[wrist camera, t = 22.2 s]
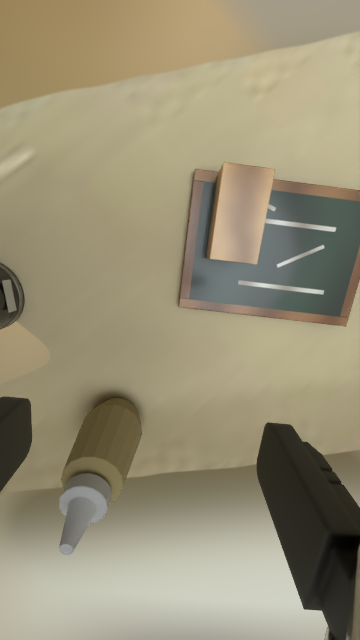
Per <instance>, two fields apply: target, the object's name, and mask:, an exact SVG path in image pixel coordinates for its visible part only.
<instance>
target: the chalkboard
mask: <svg viewBox="0 0 360 640" xmlns="http://www.w3.org/2000/svg"><path fill="white" fill-rule="evenodd" d="M218 173H219V172H215V171H207V170H200V169H195V172H194V181H193V189H192V198H191V206H190V215H189V223H188V231H187V240H186V248H185V257H184V265H183V274H182V282H181V291H180V299H179V307H183V308H192V309H201V310H209V311H218V312H227V313H235V314H244V315H252V316H261V317H270V318H278V319H287V320H296V321H304V322H313V323H322V324H330V325H339V326H346V324H347V321H348V317H349V314H350V310H351V307H352V304H353V300H354V297H355V293H356V290H357V286H358V283H359V280H360V190H353V189H345V188H337V187H330V186H322V185H314V184H307V183H299V182H291V181H284V180H276V179H273V183H272V188H271V194H270V199H269V204H268V210H267V215H266V220H265V225H264V231H263V236H262V241H261V246H260V252H259V257H258V262H257V265H254V264H246V263H238V262H230V261H221V260H213V259H207V258H205V256H206V249H207V241H208V234H209V227H210V220H211V212H212V205H213V198H214V191H215V184H216V177H217V175H218Z"/></svg>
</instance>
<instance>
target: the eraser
mask: <svg viewBox="0 0 360 640" xmlns="http://www.w3.org/2000/svg"><path fill="white" fill-rule="evenodd" d="M274 173H275V169H271V168H264V167H256V166H249V165H241V164H233V163H226V162H224V163H223V165H222V167H221V169H220V171H219V173H218V175H217V177H216V184H215V191H214V198H213V205H212V212H211V220H210V227H209V234H208V241H207V249H206V256H205V258H207V259H213V260H221V261H230V262H238V263H246V264H254V265H257V262H258V257H259V252H260V246H261V241H262V236H263V231H264V225H265V220H266V215H267V210H268V204H269V199H270V194H271V188H272V183H273V178H274Z"/></svg>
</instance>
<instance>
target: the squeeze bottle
mask: <svg viewBox="0 0 360 640" xmlns="http://www.w3.org/2000/svg"><path fill="white" fill-rule="evenodd" d="M141 435H142V430H141V423H140V420H139V416H138V412H137V410H136V408H135V407H134V405H133V404H132V403H130V402H129V401H128V400H125V399H122V398H111V399H109V400H107V401H105V402H103V403H102V404H100V405H99V406H97V407H96V408H94V409H93V410H91V412H90V413H89V414H88V415H87V416H86V417H85V419H84V421H83V424H82V426H81V429H80V431H79V433H78V436H77V438H76V441H75V443H74V446H73V448H72V450H71V453H70V455H69V458H68V460H67V463H66V465H65V468H64V470H63V474H62V478H61V481H62V485H63V489H64V490H63V492H62V494H61V497H60V500H59V506H60V510H61V512H62V513H63V515H64V516H65V517H66V519H65V524H64V528H63V533H62V537H61V542H60V546H59V550H60V552H61V553H62V554H66V555H69V554H71V553H72V552H73V551H74V549H75V548H76V546H77V544H78V542H79V541H80V539H81V537H82V535H83V533H84V532H85V530H86V528H87V527H88V525H89V524H92V523H95V522H97V521H100V520H101V519H102V517H104V516H105V515H106V511H107V509H108V505H109V503H111V502H113V501H114V500H115V499H116V498H117V497H118V496H119V495H120V493H121V491H122V488H123V485H124V482H125V480H126V477H127V474H128V471H129V469H130V466H131V463H132V461H133V458H134V455H135V452H136V450H137V447H138V444H139V441H140V438H141Z"/></svg>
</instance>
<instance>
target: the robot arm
mask: <svg viewBox="0 0 360 640" xmlns="http://www.w3.org/2000/svg"><path fill="white" fill-rule="evenodd" d="M23 303H24V298H23V292H22V288H21V286H20V283H19V281H18V280H17V278H16V277H15V275H14V274H13V273H12V272H11V271H10V270H9V269H8V268H7V267H5V266H4V265H2V264H1V263H0V329H2V328H5V327H7V326H9V325H11V324H12V323H14V322H15V321H16V320H17V318H18V317H19V316H20V314H21V312H22V308H23ZM31 442H32V424H31V403H30V401H29V399H25V398H15V397H1V398H0V492H1V490H2V489H3V488H4V486H5V485H6V484H7V482H8V481H9V480H10V478H11V477H12V476H13V474H14V473H15V472H16V470H17V469H18V468H19V466H20V465H21V464H22V462H23V461H24V459H25V458H26V456H27V454H28V452H29V450H30V447H31ZM257 475H258V480H259V483H260V486H261V488H262V491H263V494H264V497H265V500H266V502H267V505H268V508H269V511H270V514H271V517H272V520H273V522H274V525H275V528H276V531H277V534H278V537H279V539H280V542H281V545H282V548H283V551H284V554H285V557H286V560H287V562H288V565H289V568H290V571H291V574H292V577H293V579H294V582H295V585H296V588H297V590H298V594H299V596H300V599H301V602H302V605H303V608H304V609H308V610H322V612H323V614H324V617H325V619H326V622H327V624H328V627H327V630H326V634H325V640H360V508H359V506H358V505H357V503H356V502H355V500H354V499H353V498H352V496H351V495H350V493H349V492H348V491H347V489H346V488H345V486H344V485H342V484H341V481H340V479H339V478H338V477H337V475H336V474H335V473H334V472H333V471H332V468H331V467H330V465H329V464H328V462H327V461H326V460H325V458H324V457H323V455H322V454H321V453H319V452H318V451H317V450H316V449H315V448H314V447H312V446H311V445H310V444H309V443H308V442H302V440H301V439H300V437H299V436H298V434H297V433H296V431H295V430H294V428H293V427H292V426H291V425H289V424H278V423H267V424H266V425H265V427H264V432H263V436H262V440H261V445H260V449H259V454H258V458H257Z"/></svg>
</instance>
